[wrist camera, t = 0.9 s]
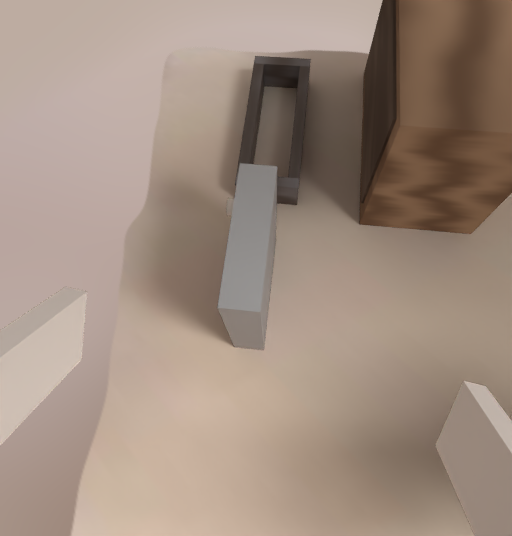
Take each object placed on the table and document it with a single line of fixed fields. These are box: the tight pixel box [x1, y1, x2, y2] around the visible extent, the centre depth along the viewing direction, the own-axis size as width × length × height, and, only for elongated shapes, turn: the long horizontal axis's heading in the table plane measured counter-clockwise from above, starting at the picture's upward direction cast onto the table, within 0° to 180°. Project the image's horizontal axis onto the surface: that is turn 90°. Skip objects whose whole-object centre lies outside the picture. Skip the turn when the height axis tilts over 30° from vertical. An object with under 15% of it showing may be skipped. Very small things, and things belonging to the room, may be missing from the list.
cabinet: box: [235, 0, 512, 234], centre depth 43 cm, size 26×22×16 cm
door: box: [217, 163, 277, 350], centre depth 38 cm, size 4×12×14 cm, turn 173°
